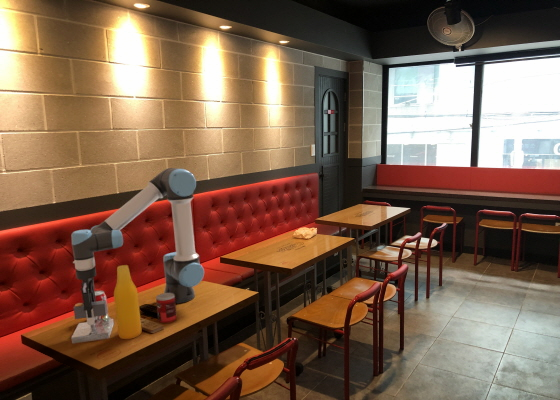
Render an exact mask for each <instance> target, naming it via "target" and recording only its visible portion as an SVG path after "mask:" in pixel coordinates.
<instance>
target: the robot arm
mask: <svg viewBox="0 0 560 400" xmlns="http://www.w3.org/2000/svg"><path fill="white" fill-rule="evenodd" d="M196 187H197V180H196V178H195V176H194V174H193V173H192V172H190V171H189V170H187V169H184V168H174V167H168V168H165V169H164V170H162V171H160V172H159V173H158V174H157V175H156V176H155V177H153V178H152V179H150V181H148V182H147V186H146V187H144V188H143V189H141V191H140V192H138V193H137V194H136V195H134V196H133V197H132V198H131V199H129V200H128V201H127V202H126V203H125V204H123V205H122V206H121V207H120V208H118V209H117V210H116V211H115V212H114V213H112V214H110V216H109V217H107V218H106V219H105V220H104V221H102V222H100V224H98V225H94V226H92V227H91V228H90V229H79V230H75V231H73V232H72V233H71V247H72V253H73V254H72V255H73V260H74V261H72V264H74V268H75V276H76V279H77V280H79V281H82V282H81V285H80V286H81V288H80V291H81V297H82V303H83V304H84V309H83V310H84V311H86V316H87V318H86V322H87V324H88V325H92V324H95V321H96V320H97V316H96V317H94V312H93V309H92V302H96V298H95V283H94V282H95V281H94V279H95V277H96V276H97V269H96V260H95V254H94V253H95V252H101V251H107V250H108V251H109V250H112V249H118V248H121V247H122V246H123V244H124V237H123V233H122V231H121V230H122V229H123V228H125V227H126V226H127V225H128V224H129V223H130V222H132V221H133V220H134V219H135V218H136V217H138V216H139V215H141V213H143V212H144V211H145V210H146V209H147V208H148V207H150V206H151V205H152V204H154V203H155V202H156V201H157V200H159V199H163V198H164V197H166V199H167V201H168V202H169V203H170V204H171V213H172V223H173V233H174V243H175V251H174V252H170V253H166V254H164V255H163V257H162V259H163V261H162V262H163V270H164V278H165V279H164V280H165V287H164V292H163V293H173V294H174V296H175V304H182V303H186V302H190V301H192V300H193V299H194V298H196V297H195V296H196V295H195V293H196V292H195V289H194V287H195V286H198V285H199V284H200V283H201V281H202V280H203V279H204V275H205V269H204V267H203V265H202V264H201V263H200V255H199V254H198V253H197V252H196V248H195V247H196V246H195V236H194V225H193V224H194V223H193V215H192V205H191V202H192V200H193V199H194V198H195V197H194V192H195V190H196Z"/></svg>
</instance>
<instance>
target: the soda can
mask: <svg viewBox="0 0 560 400" xmlns="http://www.w3.org/2000/svg"><path fill="white" fill-rule="evenodd" d="M95 298H96V301H104V300H106V304H107V305H108V301H107V299H108V298H107V295H106V294H105V291H104V290H96V291H95ZM107 314H108V315H109V308H108V306H107ZM104 316H105V315H104ZM104 316H97V320H95V321H100V320H103V318H104Z"/></svg>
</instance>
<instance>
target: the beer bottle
mask: <svg viewBox="0 0 560 400" xmlns="http://www.w3.org/2000/svg"><path fill="white" fill-rule="evenodd" d="M116 269H117V270H116V273H117V275H116V284H115V287H114V291H113V299H114V300H113V301H114V307H115V316H116V317H115V318H116V323H117V324H116V325H117V334H118V337H119V338H120V339H122V340H123V339H124V340H130V339H135V338H137V337H139V336H140V335H141V334H142V329H143V328H142V322H141V313H140V303H139V301H140V300H139V295H138V294H139V293H138V289H137V286H136V285H135V283H134V282H133V280H132V276H131V273H130V268H129V265H127V264H124V265H123V264H122V265H118V266H117V268H116Z"/></svg>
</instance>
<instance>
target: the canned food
mask: <svg viewBox="0 0 560 400" xmlns="http://www.w3.org/2000/svg"><path fill="white" fill-rule="evenodd" d="M155 302H156V311H157V318H158V322H159V323H162V324H169V323H172V322H175V321H177V317H178V316H177V307H176V306H177V305H176V303H175V296H174V294H173V293H164V292H163V293H160V294H158V295H156V297H155Z"/></svg>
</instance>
